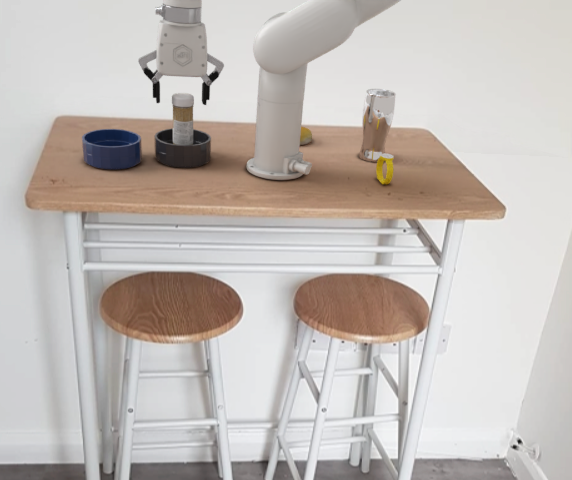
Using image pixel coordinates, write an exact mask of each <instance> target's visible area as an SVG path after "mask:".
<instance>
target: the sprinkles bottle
mask: <svg viewBox="0 0 572 480" xmlns="http://www.w3.org/2000/svg"><path fill="white" fill-rule="evenodd" d="M171 105H172V128H173V144H175V145H193V129H194V106H195V97H194V95H193V94H192V93H188V92H176V93H173V94H172V95H171Z"/></svg>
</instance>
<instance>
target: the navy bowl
mask: <svg viewBox="0 0 572 480" xmlns="http://www.w3.org/2000/svg"><path fill="white" fill-rule="evenodd" d="M81 144H82V145H81V146H82V156H83V162H84V163H86V164H87V165H89V166H90V167H94V168H96V169H101V170H108V171H109V170H110V171H113V170H115V171H117V170H125V169H129V168H133V167H136V166H137V165H138V164H140V163H141V162H142V161H143V153H142V151H143V148H142V137H141V135H140V134H138V133H137V132H134V131H131V130H126V129H121V128H101V129H100V128H99V129H94V130H90V131H87V132H86V133H84V134H83V135H82V136H81Z"/></svg>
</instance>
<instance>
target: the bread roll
mask: <svg viewBox="0 0 572 480" xmlns="http://www.w3.org/2000/svg"><path fill="white" fill-rule="evenodd" d="M312 139H313V133H312V131H311V130H310V128H308V127H306V126H303V125H301V135H300V146H303V145H307V144H309V143H310V142H312Z"/></svg>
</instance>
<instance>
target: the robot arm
mask: <svg viewBox="0 0 572 480" xmlns="http://www.w3.org/2000/svg"><path fill="white" fill-rule="evenodd" d="M401 1H402V0H306V1H304V2H302V3H301V4H299V5H298V6H296V7H294V8H292V9H291V10H289V11H286V12H279V13H276V14H274V15H272V16H271V17H269V18H268V19H267V20H266V22H264V24H262V25H261V27H260V28H259V29H258V30H257V31H256V34H255V37H254V39H253V43H252V52H253V56H254V59H255V62H256V64H257V65H258V66H259V73H258V85H257V98H256V99H257V101H256V115H255V117H256V118H255V137H254V155H253V157H252V158H250V159H248V161H246V169H247V171H248V172H249V173H250V174H251V175H253V176H256V177H259V178H261V179H266V180H274V181H287V180H288V181H289V180H294V179H297V178H300V177H302V176H303V175H309V174H310V172H311V169H312V167H313V163H312V162H310V161H306V160H304V152H301V151H300V147H301V145H300V135H301V126H302V124H303V113H304V111H303V110H304V100H305V91H306V80H307V73H308V72H307V71H308V64H309V63H311V62H312V61H314V60H316V59H318V58H320V57H322V56H323V55H326V54H327V53H329V52H331V51H334V50H335V49H337V48H338V47H340V46H341V45H343V44H344V43H345V42H347V40H348V39H350V37H351V36H352V35H353V33H354V32H355V29H356V28H358V27H360V26H361V25H363V24H364V23H366V22H368V21H370V20H372V19H373V18H375V17H377V16H379V15H380V14H381V13H383V12H385V11H386V10H388V9H390V8H392V7H394V6H395V5H397V4H398V3H399V2H401ZM202 2H203V0H162V5H161V6H155V15H159V16H161V18H162V19H160V20H159V23H158V26H157V37H156V49H155V50H152V52H149V53H146V54H144V55H143V56H141V57H139V58H138V61H137V62H138V64H139V66H140V68H141V70H142V72H143V74H144V75H145V76H146V77H147V78H148V80H150V81H151V83H152V98H153V99H155V102H156V104H160V103H161V83H160V80H161V79H162V77H163V76H166V77H182V78H201V79H202V83H201V103H202V105H204V106H207V101H210V98H211V97H210V95H211V86H212V84H213V83H214V82H215V81H216V80H217V79H218V78H219V77H220V75H221V73H222V71H223V69H224V67H225V64H224V62H223V61H221V60H220V59H218V58H217V57H215V56H213V55H211V54H210V53H208V37H207V28H206V24H205V23H204V22H202V9H203V8H202V7H203V6H202V5H203V3H202ZM154 60H155V61H156V62H155V63H156V69H155V71H154V72H153V71H152V70H151V69H150V68H149V66H148V63H150V62H152V61H154ZM208 63H210V64H211V65H213V66H215V67H214V69H213V71H212V72H210V73H209V74H208V73H207V72H208Z"/></svg>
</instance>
